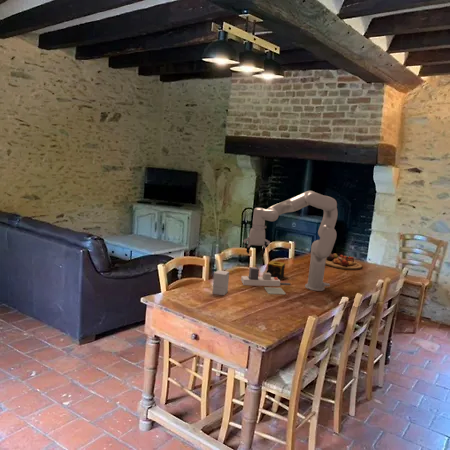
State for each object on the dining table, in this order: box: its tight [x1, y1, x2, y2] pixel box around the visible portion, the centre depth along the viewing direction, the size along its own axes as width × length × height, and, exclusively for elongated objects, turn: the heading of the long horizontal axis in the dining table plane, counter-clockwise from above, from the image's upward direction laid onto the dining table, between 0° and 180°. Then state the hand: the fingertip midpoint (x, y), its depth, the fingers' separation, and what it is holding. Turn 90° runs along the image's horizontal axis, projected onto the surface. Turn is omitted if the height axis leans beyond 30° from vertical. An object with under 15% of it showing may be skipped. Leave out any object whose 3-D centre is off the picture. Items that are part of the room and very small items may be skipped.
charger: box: [248, 266, 260, 280], centre depth 270 cm, size 5×5×8 cm
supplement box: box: [212, 269, 230, 296], centre depth 246 cm, size 7×7×13 cm
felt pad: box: [263, 286, 287, 295], centre depth 259 cm, size 11×11×1 cm
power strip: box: [240, 275, 291, 287], centre depth 272 cm, size 32×8×4 cm, turn 98°
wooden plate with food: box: [325, 253, 363, 271], centre depth 340 cm, size 32×32×8 cm
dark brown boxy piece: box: [266, 260, 286, 281], centre depth 288 cm, size 10×10×10 cm
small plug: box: [262, 272, 271, 280], centre depth 271 cm, size 4×4×5 cm
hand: (255, 253), depth 267 cm, fingers open, 9 cm apart
